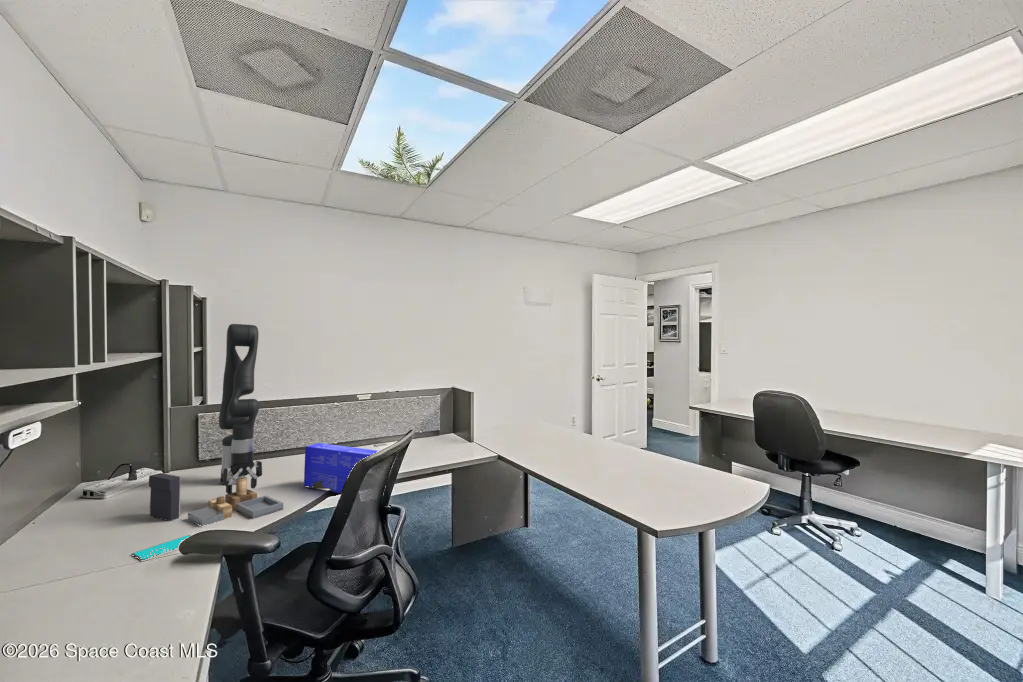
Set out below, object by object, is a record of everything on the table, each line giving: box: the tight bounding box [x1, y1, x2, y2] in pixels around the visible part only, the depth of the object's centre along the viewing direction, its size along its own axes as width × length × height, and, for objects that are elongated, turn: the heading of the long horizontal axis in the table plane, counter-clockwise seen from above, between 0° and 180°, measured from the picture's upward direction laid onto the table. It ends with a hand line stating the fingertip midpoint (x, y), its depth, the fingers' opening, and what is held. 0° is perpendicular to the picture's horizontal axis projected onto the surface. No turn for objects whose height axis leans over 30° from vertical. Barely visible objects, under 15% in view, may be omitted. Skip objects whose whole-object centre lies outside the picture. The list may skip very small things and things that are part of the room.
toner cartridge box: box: [303, 442, 379, 494], centre depth 186 cm, size 39×8×18 cm, turn 69°
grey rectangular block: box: [187, 506, 225, 527], centre depth 153 cm, size 10×7×3 cm
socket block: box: [224, 488, 258, 510], centre depth 168 cm, size 8×8×4 cm
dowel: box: [235, 476, 248, 497], centre depth 168 cm, size 4×4×10 cm
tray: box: [235, 495, 284, 520], centre depth 163 cm, size 13×11×2 cm
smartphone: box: [131, 534, 191, 560], centre depth 132 cm, size 7×1×15 cm
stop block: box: [207, 496, 233, 520], centre depth 158 cm, size 12×3×6 cm, turn 56°
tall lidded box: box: [148, 472, 181, 521], centre depth 154 cm, size 11×4×15 cm, turn 71°
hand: (241, 491), depth 168 cm, fingers open, 8 cm apart
